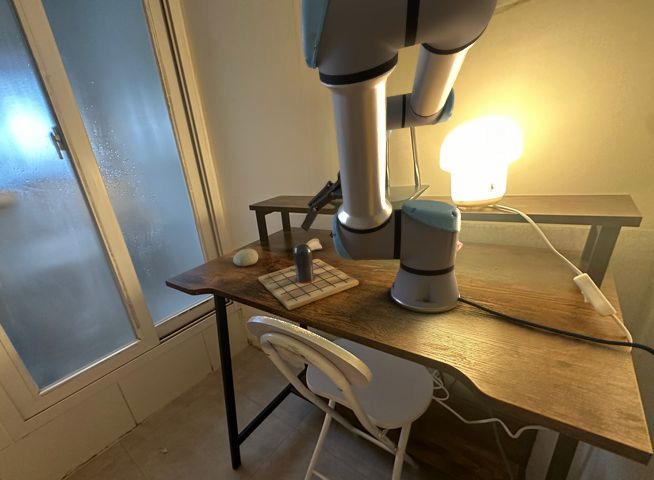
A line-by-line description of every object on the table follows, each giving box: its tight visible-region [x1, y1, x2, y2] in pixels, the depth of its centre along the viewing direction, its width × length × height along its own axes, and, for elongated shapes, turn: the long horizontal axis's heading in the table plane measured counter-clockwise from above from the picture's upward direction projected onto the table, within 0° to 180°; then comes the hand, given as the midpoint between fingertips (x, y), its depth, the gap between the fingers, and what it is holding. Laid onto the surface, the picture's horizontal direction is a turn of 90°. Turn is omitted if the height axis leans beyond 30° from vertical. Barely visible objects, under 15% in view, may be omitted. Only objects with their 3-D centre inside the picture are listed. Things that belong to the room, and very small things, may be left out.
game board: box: [257, 258, 360, 311], centre depth 90 cm, size 22×22×1 cm
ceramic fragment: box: [305, 238, 323, 252], centre depth 112 cm, size 14×5×4 cm, turn 143°
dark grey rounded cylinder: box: [292, 242, 314, 282], centre depth 88 cm, size 5×5×11 cm
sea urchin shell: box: [232, 248, 259, 268], centre depth 110 cm, size 9×8×8 cm
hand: (317, 233), depth 87 cm, fingers open, 13 cm apart
